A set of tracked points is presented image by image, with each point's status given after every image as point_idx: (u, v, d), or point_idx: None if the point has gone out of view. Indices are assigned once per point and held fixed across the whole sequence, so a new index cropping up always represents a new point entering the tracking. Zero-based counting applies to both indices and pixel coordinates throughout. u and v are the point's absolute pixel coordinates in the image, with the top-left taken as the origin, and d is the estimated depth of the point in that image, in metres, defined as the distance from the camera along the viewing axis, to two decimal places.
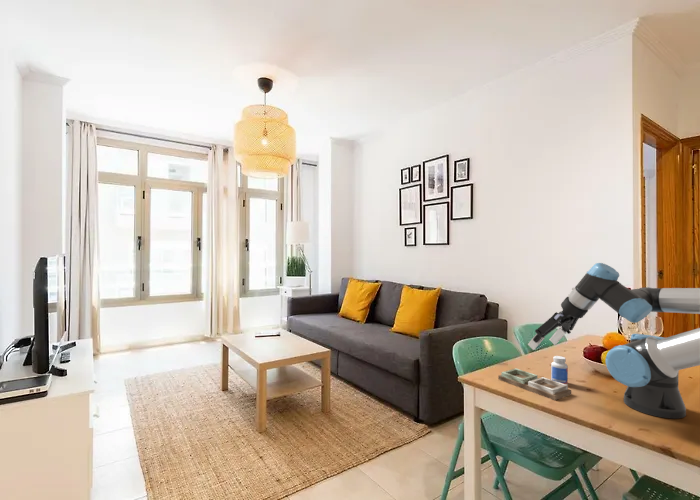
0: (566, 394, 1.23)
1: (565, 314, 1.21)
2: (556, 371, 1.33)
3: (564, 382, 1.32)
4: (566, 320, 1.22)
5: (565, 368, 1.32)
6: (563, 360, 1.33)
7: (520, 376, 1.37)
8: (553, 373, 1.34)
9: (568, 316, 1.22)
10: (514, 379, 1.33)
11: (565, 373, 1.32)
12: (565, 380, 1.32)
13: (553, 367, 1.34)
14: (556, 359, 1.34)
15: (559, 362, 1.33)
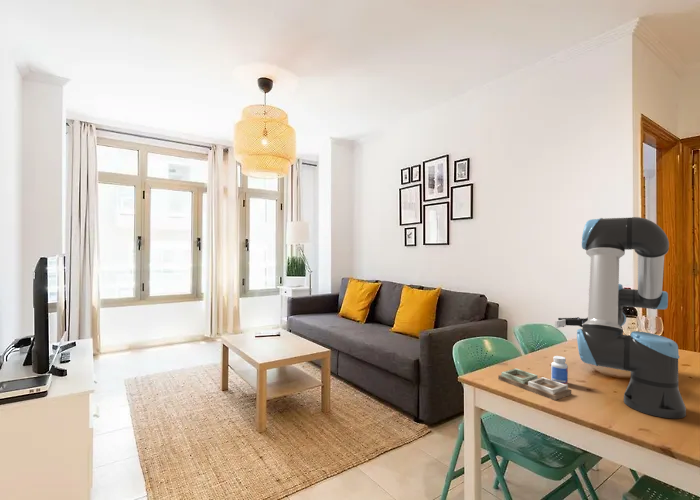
0: (566, 394, 1.23)
1: None
2: (556, 371, 1.33)
3: (564, 382, 1.32)
4: None
5: (565, 368, 1.32)
6: (563, 360, 1.33)
7: (520, 376, 1.37)
8: (553, 373, 1.34)
9: None
10: (514, 379, 1.33)
11: (565, 373, 1.32)
12: (565, 380, 1.32)
13: (553, 367, 1.34)
14: (556, 359, 1.34)
15: (559, 362, 1.33)
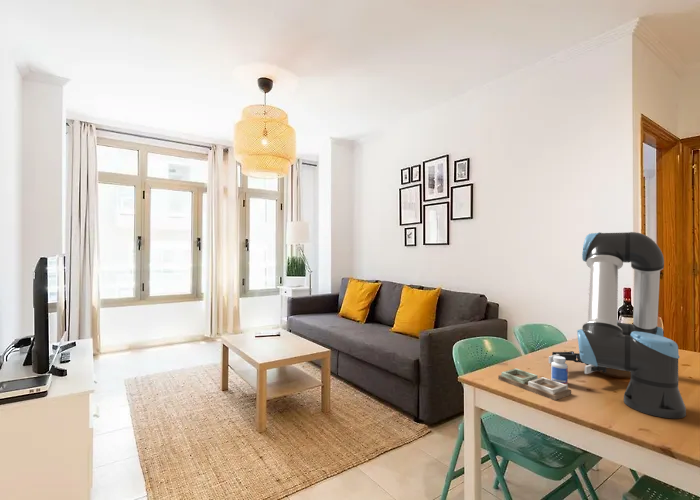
0: (566, 394, 1.23)
1: None
2: (556, 371, 1.33)
3: (564, 382, 1.32)
4: None
5: (565, 368, 1.32)
6: (563, 360, 1.33)
7: (520, 376, 1.37)
8: (553, 373, 1.34)
9: None
10: (514, 379, 1.33)
11: (565, 373, 1.32)
12: (565, 380, 1.32)
13: (553, 367, 1.34)
14: (556, 359, 1.34)
15: (559, 362, 1.33)
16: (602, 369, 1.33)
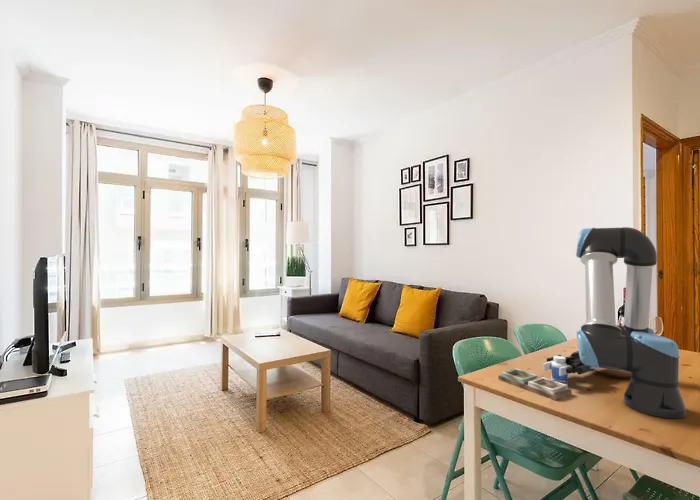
0: (566, 394, 1.23)
1: None
2: (556, 371, 1.33)
3: (564, 382, 1.32)
4: None
5: None
6: (563, 360, 1.33)
7: (520, 376, 1.37)
8: (553, 373, 1.34)
9: None
10: (514, 379, 1.33)
11: None
12: (565, 380, 1.32)
13: (553, 367, 1.34)
14: (556, 359, 1.34)
15: (559, 362, 1.33)
16: (576, 371, 1.31)
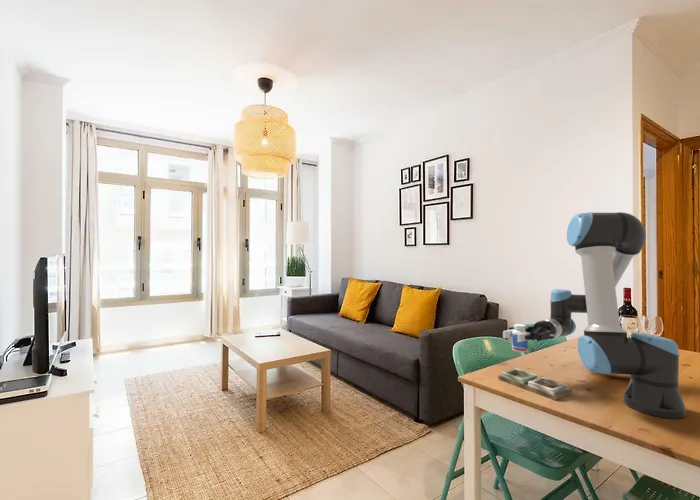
0: (566, 394, 1.23)
1: None
2: (516, 338, 1.34)
3: (523, 349, 1.33)
4: None
5: None
6: (523, 327, 1.34)
7: (520, 376, 1.37)
8: (513, 340, 1.35)
9: None
10: (514, 379, 1.33)
11: None
12: (524, 347, 1.33)
13: (513, 335, 1.35)
14: (516, 326, 1.35)
15: (519, 330, 1.34)
16: (535, 337, 1.32)
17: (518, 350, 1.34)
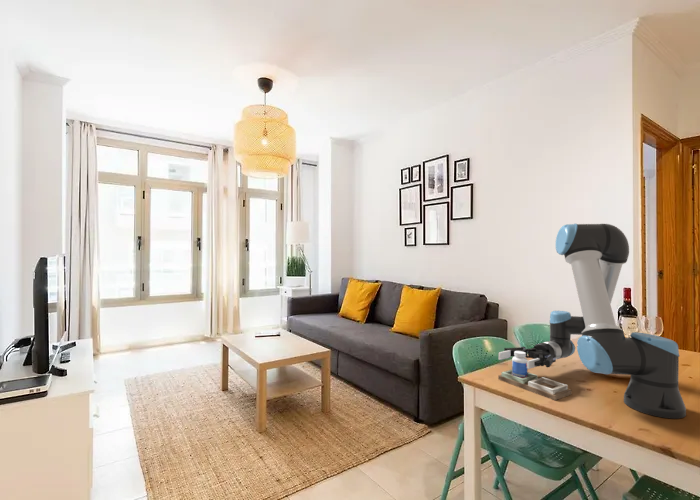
0: (566, 394, 1.23)
1: None
2: (516, 366, 1.34)
3: (523, 376, 1.33)
4: None
5: (525, 363, 1.33)
6: (523, 355, 1.34)
7: None
8: (513, 368, 1.35)
9: None
10: (514, 379, 1.33)
11: (525, 368, 1.33)
12: (524, 375, 1.33)
13: (513, 362, 1.35)
14: (516, 354, 1.35)
15: (519, 357, 1.34)
16: (545, 364, 1.30)
17: None
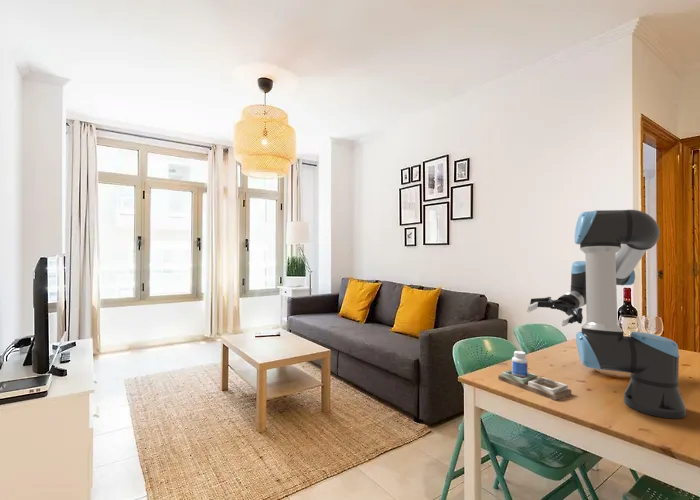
0: (566, 394, 1.23)
1: None
2: (516, 366, 1.34)
3: (523, 377, 1.33)
4: None
5: (524, 363, 1.33)
6: (523, 355, 1.34)
7: None
8: (513, 368, 1.35)
9: None
10: (514, 379, 1.33)
11: (524, 368, 1.33)
12: (524, 375, 1.33)
13: (513, 362, 1.35)
14: (516, 354, 1.35)
15: (518, 357, 1.34)
16: (578, 320, 1.37)
17: None
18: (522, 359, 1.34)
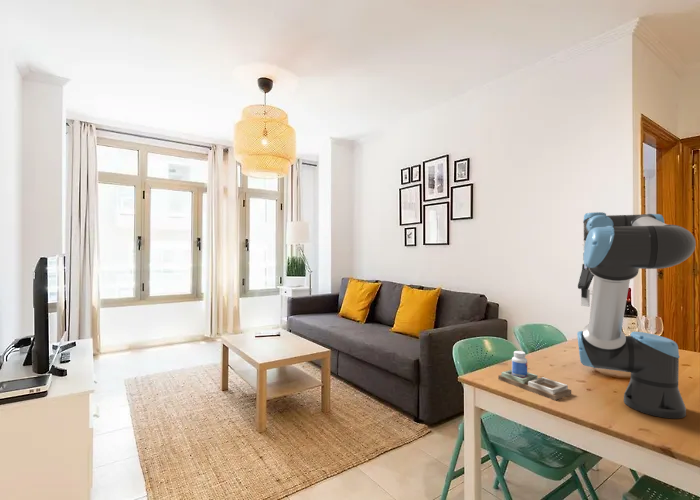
0: (566, 394, 1.23)
1: None
2: (516, 366, 1.34)
3: (523, 376, 1.33)
4: None
5: (524, 363, 1.33)
6: (522, 355, 1.34)
7: None
8: (513, 368, 1.35)
9: None
10: (514, 379, 1.33)
11: (524, 368, 1.33)
12: (524, 375, 1.33)
13: (513, 362, 1.35)
14: (516, 354, 1.35)
15: (518, 357, 1.34)
16: None
17: None
18: (522, 359, 1.34)
